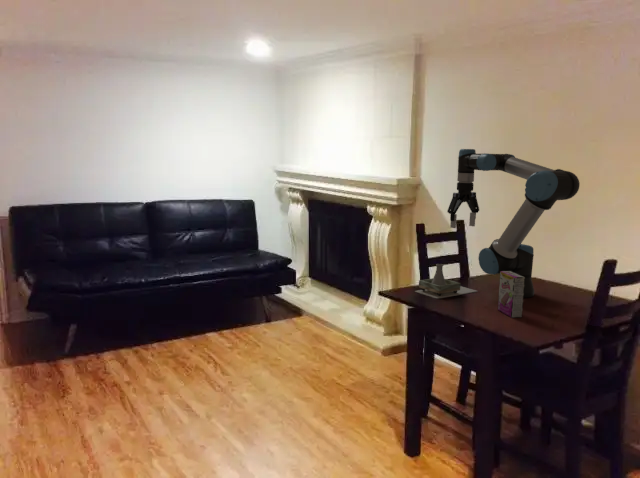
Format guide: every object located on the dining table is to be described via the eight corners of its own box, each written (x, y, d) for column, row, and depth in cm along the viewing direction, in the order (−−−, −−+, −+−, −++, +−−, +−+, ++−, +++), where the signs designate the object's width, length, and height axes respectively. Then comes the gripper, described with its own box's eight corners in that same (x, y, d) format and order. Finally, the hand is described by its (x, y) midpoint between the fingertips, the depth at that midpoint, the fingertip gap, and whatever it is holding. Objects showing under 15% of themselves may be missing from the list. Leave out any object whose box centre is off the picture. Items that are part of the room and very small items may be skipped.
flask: (445, 284, 264) (446, 263, 263) (447, 288, 257) (448, 266, 256) (429, 284, 265) (430, 262, 263) (431, 287, 258) (432, 265, 256)
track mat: (477, 291, 266) (477, 290, 266) (436, 298, 252) (436, 297, 252) (455, 285, 277) (455, 284, 277) (414, 291, 263) (414, 290, 263)
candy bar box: (496, 310, 236) (499, 270, 234) (507, 309, 237) (510, 270, 235) (510, 318, 226) (514, 277, 223) (522, 317, 227) (525, 276, 224)
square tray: (459, 293, 260) (460, 283, 259) (439, 296, 253) (439, 286, 252) (439, 287, 271) (439, 277, 270) (418, 290, 264) (419, 280, 263)
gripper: (476, 181, 281) (473, 224, 285) (441, 182, 267) (438, 227, 270) (488, 182, 275) (485, 226, 279) (453, 183, 261) (451, 229, 264)
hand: (462, 227), depth 274 cm, fingers open, 13 cm apart
